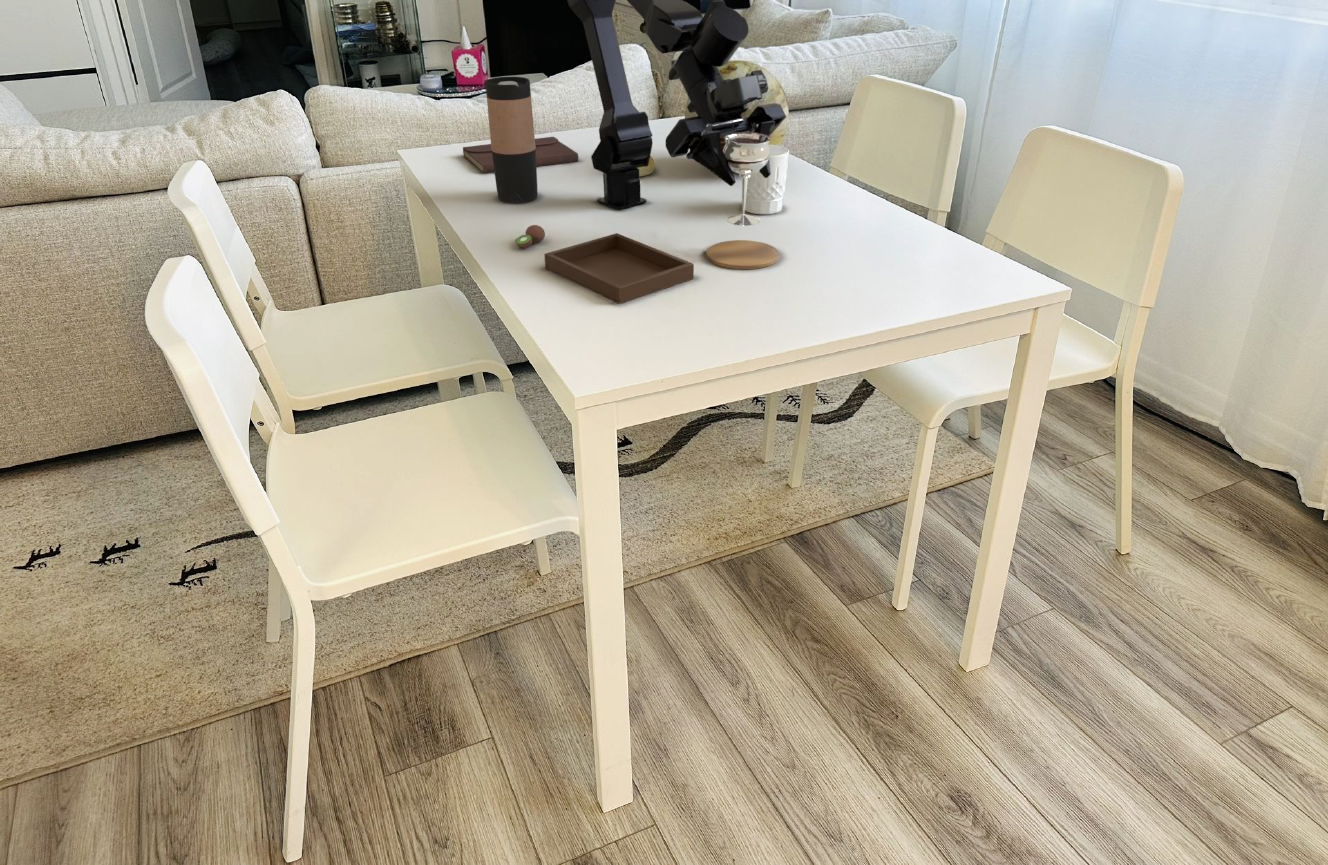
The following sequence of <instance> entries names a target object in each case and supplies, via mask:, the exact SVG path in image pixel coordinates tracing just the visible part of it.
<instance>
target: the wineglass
mask: <svg viewBox="0 0 1328 865" xmlns="http://www.w3.org/2000/svg"><path fill="white" fill-rule="evenodd" d="M724 140H725V142H726V144H725V146H724V149H723V152H724V155H725V157H726V159H727V161H728V163H729V165H730V168H731V170H732V172H734V173H735V174H737V175H738V176H739V178H741V186H742V187H741V214H733V215H730V216H728V217H727V218H726V220H725V221H726V222H727V223H729V224H731V225H734V226H742V227H747V226H754V225H756V224H759V223H760V218H758V217H757V216H755V215H751V214H745V213H746V210H745V203H746V192H747V181H748V178H750V176H751V175H752V174H754V173H757V172H759V171H760V170H761V169H762V168H763V167H764V166H765V165H766V164H767V162H768V160H769V155H770V149H769V146H768V143H769V141H770V137H769V136H767V135H764V134H760V133H753V132H737V133H731V134H727V135H725V136H724Z"/></svg>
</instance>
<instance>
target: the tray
mask: <svg viewBox="0 0 1328 865" xmlns="http://www.w3.org/2000/svg"><path fill="white" fill-rule="evenodd" d="M543 254H544V255H543V256H544V269H545V270H547V271H550V272H552V273H554V274H556V275H558V276H560V277H562V278H564V279H566V280H569V281H570V282H572V283H574V284H577V285H579V286H581V287H583V288H585V289H587V290H590V291H592V292H594V293H595V294H597V295H600V296H602V297H604V298H606V299H608V300H610V301H612V302H614V303H616V304H619V305H620V304H624V303H627V302H630V301H633V300H636V299H639V298H641V297H644V296H647V295H650V294H654V293H656V292H659V291H662V290H664V289H668V288H670V287H674V286H678V285H680V284H683V283H686V282H688V281H691V280H692V281H693V280H694V278H695V277H694V276H695V275H694V271H695V268H694V266H695V265H694V263H693V262H690V261H688V260H685V259H683V258H681V257H677V256H676V255H673V254H671V253H668V252H666V251H663V250H661V249H657V248H655V247H652V246H651V245H648V244H645V243H643V242H640V241H638V240H636V239H633V238H630V237H628V236H625V235H623V234H621V233H618V232H615V233H613V234H609V235H605V236H601V237H599V238H595V239H591V240H588V241H584V242H581V243H577V244H574V245H570V246H566V247H563V248H560V249H556V250H552V251H549V252H545V253H543Z"/></svg>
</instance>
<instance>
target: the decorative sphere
mask: <svg viewBox="0 0 1328 865" xmlns="http://www.w3.org/2000/svg"><path fill="white" fill-rule="evenodd" d="M718 68H719V70H720V72H721V74H722V76H723V78H724V80H727V79H731V80H732V79H735V78H740V77H746V74H748V73H751V72H752V71H756V70H761V71H762V72H763V74H764V76H765V77H766V79H767V83H768V91H767V92H765V93H763V94H762V97H763V98H762V99H760V100H754V101H752V102H750V103H748V107H749V108H748V110H747V111H746V112H745V113H742V114H741V116H742V118H746V117H749V116H750V114H751V113H752V112H753V111H754V110H755V108H756V107H757V106H760V105H766V104H772V103H776V104H780V105H781V107H782V109H783V111H784V113H785V115H786V118H785V119H784V120H783V122H782V123H781V124H780V125H779V126H778V127H777V128H776V129H775V130H774V132H773V133H772V134H771V135H770V136H769V137H770V141H769V143H768V145H777V146H781V145H782V142H783V141H784V139H785V136H786V133H787V130H788V126H789V117H790V116H789V115H790V114H789V112H790V110H789V102H788V99H787V95H786V93H785V90H784V88H783V86H782V85H781V83H780V82H779V80H778V79H777V78H776V77H775V75H774V74H773V73H771V71H769V70H768V69H766V68H765V67H763V66H761V65H760V64H757V63H755V62H752V61H747V60H739V59H738V60H729V61H728V63H727V64H725V65H724V66H721V67H718ZM690 102H691V101H690V99H689V97H688V96H687V99H686V104H685V107H684V108H685V109H684V119H685V118H691V117H697V114H696V112H692V113H689V110H688V108H687V106H688V105H689V103H690ZM720 142H721V148H722V150H723V149H724V146H725V144H726V142H725V140H724V136H720Z"/></svg>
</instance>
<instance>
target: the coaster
mask: <svg viewBox="0 0 1328 865" xmlns="http://www.w3.org/2000/svg"><path fill="white" fill-rule="evenodd" d="M705 257H706V259H707V260H708V261H709V262H710V263H712V264H714V265H716V266H718V267H722V268H726V269H733V270H756V269H763V268H766V267H770V266H772V265H774V264H776V263H777V262H778V260H779V258H780V252H779V250H778V249H777V248H776V247H774V246H773V245H771V244H768V243H766V242H765V243H764V242H761V241H756V240H747V239H746V240H745V239H744V240H743V239H734V240H727V241H721V242H718V243H714V244H712V245H710V246H709V247H707V250H706V251H705Z"/></svg>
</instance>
